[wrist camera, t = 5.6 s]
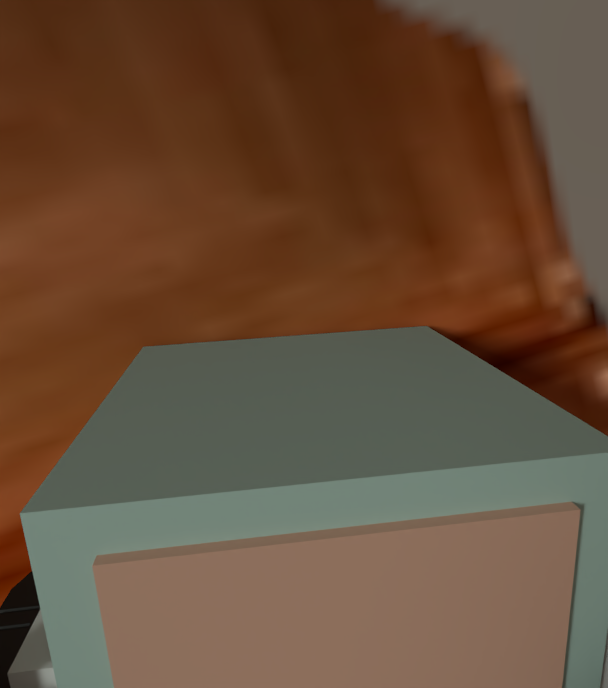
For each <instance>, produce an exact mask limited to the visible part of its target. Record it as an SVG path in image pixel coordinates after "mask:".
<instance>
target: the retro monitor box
mask: <svg viewBox="0 0 608 688" xmlns="http://www.w3.org/2000/svg"><path fill="white" fill-rule="evenodd" d="M20 516H21V521H22V525H23V530H24V535H25V539H26V544H27V549H28V553H29V558H30V563H31V567H32V572H33V577H34V581H35V586H36V591H37V595H38V600H39V605H40V609H41V614H42V619H43V623H44V628H45V632H46V637H47V642H48V646H49V651H50V656H51V660H52V665H53V670H54V674H55V679H56V684H57V688H600V684H601V676H602V668H603V661H604V653H605V645H606V637H607V629H608V436H606V435H605V434H603V433H601V432H600V431H598V430H597V429H595V428H593V427H592V426H590V425H588V424H587V423H585V422H583V421H582V420H580V419H579V418H577V417H575V416H574V415H572V414H570V413H569V412H567V411H565V410H564V409H562V408H560V407H559V406H557V405H556V404H554V403H552V402H551V401H549V400H547V399H546V398H544V397H542V396H541V395H539V394H538V393H536V392H534V391H533V390H531V389H529V388H528V387H526V386H524V385H523V384H521V383H519V382H518V381H516V380H515V379H513V378H511V377H510V376H508V375H506V374H505V373H503V372H501V371H500V370H498V369H497V368H495V367H493V366H492V365H490V364H488V363H487V362H485V361H483V360H482V359H480V358H479V357H477V356H475V355H474V354H472V353H470V352H469V351H467V350H465V349H464V348H462V347H460V346H459V345H457V344H456V343H454V342H452V341H451V340H449V339H447V338H446V337H444V336H442V335H441V334H439V333H438V332H436V331H434V330H433V329H431V328H429V327H428V326H420V327H406V328H392V329H379V330H365V331H352V332H338V333H324V334H311V335H297V336H284V337H270V338H257V339H243V340H229V341H216V342H202V343H189V344H175V345H161V346H148V347H143V348H142V349H141V351H140V352H139V354H138V355H137V356H136V358H135V359H134V360H133V362H132V363H131V364H130V366H129V367H128V368H127V370H126V371H125V372H124V374H123V375H122V376H121V378H120V379H119V381H118V382H117V383H116V385H115V386H114V387H113V389H112V390H111V391H110V393H109V394H108V395H107V397H106V398H105V399H104V401H103V402H102V403H101V405H100V406H99V407H98V409H97V410H96V412H95V413H94V414H93V416H92V417H91V418H90V420H89V421H88V422H87V424H86V425H85V426H84V428H83V429H82V430H81V432H80V433H79V434H78V436H77V437H76V438H75V440H74V441H73V443H72V444H71V445H70V447H69V448H68V449H67V451H66V452H65V453H64V455H63V456H62V457H61V459H60V460H59V461H58V463H57V464H56V465H55V467H54V468H53V470H52V471H51V472H50V474H49V475H48V476H47V478H46V479H45V480H44V482H43V483H42V484H41V486H40V487H39V488H38V490H37V491H36V492H35V494H34V495H33V496H32V498H31V499H30V501H29V502H28V503H27V505H26V506H25V507H24V509H23V510H22V511H21V513H20Z"/></svg>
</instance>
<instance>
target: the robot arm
mask: <svg viewBox="0 0 608 688" xmlns="http://www.w3.org/2000/svg"><path fill="white" fill-rule="evenodd" d="M0 688H57V684H56V679H55V674H54V670H53V665H52V660H51V656H50V651H49V646H48V642H47V637H46V632H45V628H44V623H43V619H42V614H41V609H40V605H39V600H38V595H37V591H36V586H35V581H34V577H33V572H30V573H29V574H28V575H27V576H26V577H25V578H24V579H23V580H21V581H20V582H19V583H18V584H17V585H16V586H15V587H13V588H12V589H11V591H10V593H9V594H8V596H7V597H6V599H5V601H4V602H3V604H2V606H1V607H0ZM600 688H608V629H607V637H606V645H605V653H604V661H603V668H602V676H601V684H600Z"/></svg>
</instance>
